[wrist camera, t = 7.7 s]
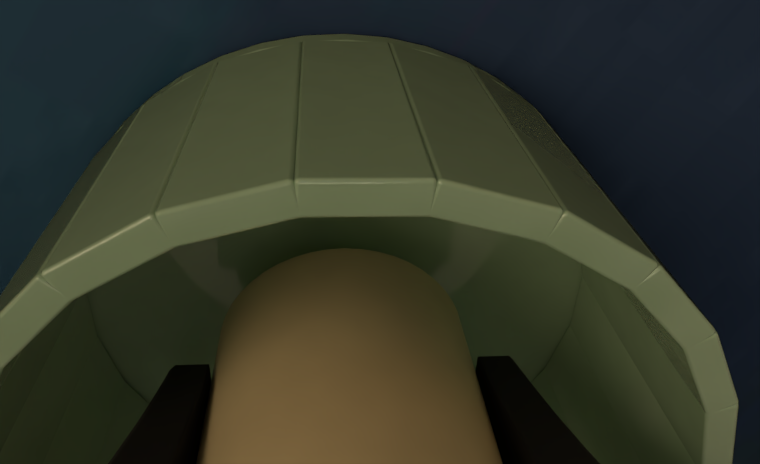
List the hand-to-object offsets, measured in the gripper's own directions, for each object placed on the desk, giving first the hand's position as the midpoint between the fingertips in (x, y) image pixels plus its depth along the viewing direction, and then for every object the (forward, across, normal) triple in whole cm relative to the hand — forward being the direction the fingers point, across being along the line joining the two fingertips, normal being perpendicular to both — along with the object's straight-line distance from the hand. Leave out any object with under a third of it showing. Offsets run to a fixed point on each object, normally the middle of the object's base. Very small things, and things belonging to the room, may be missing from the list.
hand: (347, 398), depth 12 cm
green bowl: (+3, 0, 0) cm, 3 cm away
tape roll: (+1, 0, 0) cm, 1 cm away
